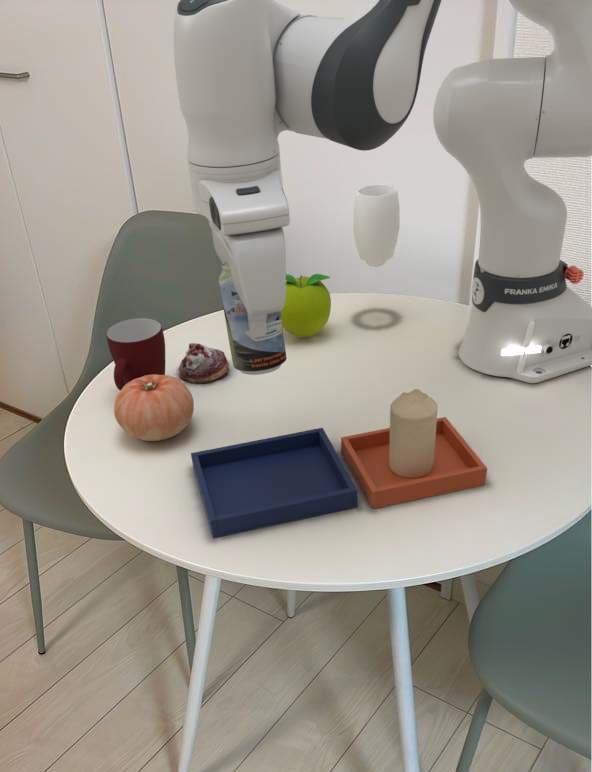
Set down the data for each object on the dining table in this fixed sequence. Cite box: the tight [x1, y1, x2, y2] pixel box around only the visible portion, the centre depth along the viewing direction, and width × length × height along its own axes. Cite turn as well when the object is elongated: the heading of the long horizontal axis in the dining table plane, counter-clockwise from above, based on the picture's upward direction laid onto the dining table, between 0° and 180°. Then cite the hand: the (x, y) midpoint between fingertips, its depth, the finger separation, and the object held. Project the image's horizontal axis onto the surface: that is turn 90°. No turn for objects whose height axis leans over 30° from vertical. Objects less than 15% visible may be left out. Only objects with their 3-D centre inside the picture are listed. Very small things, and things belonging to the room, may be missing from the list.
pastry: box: [177, 342, 230, 384], centre depth 116 cm, size 8×8×5 cm
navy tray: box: [190, 427, 359, 539], centre depth 93 cm, size 18×15×2 cm
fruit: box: [281, 273, 332, 339], centre depth 122 cm, size 9×9×10 cm
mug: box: [105, 317, 166, 392], centre depth 110 cm, size 10×8×10 cm
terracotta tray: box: [340, 416, 488, 510], centre depth 94 cm, size 14×12×2 cm
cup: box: [353, 183, 401, 268], centre depth 122 cm, size 7×7×21 cm
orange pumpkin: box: [113, 374, 195, 442], centre depth 103 cm, size 11×11×8 cm
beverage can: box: [218, 263, 288, 376], centre depth 81 cm, size 6×7×12 cm
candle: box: [389, 388, 439, 478], centre depth 91 cm, size 6×6×10 cm
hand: (251, 321), depth 82 cm, fingers closed on beverage can, 5 cm apart
